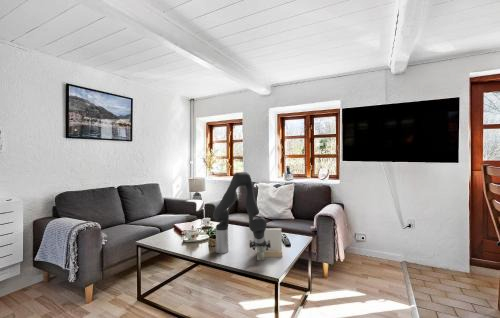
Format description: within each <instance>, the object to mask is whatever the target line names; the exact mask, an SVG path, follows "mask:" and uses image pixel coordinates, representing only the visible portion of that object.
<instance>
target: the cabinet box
mask: <svg viewBox="0 0 500 318" xmlns="http://www.w3.org/2000/svg"><path fill="white" fill-rule="evenodd" d="M265 259H266V257H265V256H264V247H262V246H257V247H256V260H257V261H265Z"/></svg>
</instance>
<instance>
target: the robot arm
mask: <svg viewBox="0 0 500 318" xmlns="http://www.w3.org/2000/svg"><path fill="white" fill-rule="evenodd" d="M239 187H244V188H245V189H246V197H245V199H244V200H245V201H244V202H245V203H244V205H245V209H246V211H247V215H248V226H249V230H250V231H251V232H252V234H253V235H252V236H253V241H252V240H249V248H250V249H251V248H252V250H253V251H256V249H257V246H262V247H264V248H266V250H268V247H269V248H271V243H270V240H269V241H268V242H266V241H265V234H264V232H265V229H267V226H268V224H267V220H266V219H265V218H264V217H263V216H262V217H258V218H255V217H256V216H258V215H259V214H260V209H259V206H258V204H257V200H256V197H255V192H254V187H253V180H252V178H251V175H250V173H249V172H245V171H244V172H243V171H241V172H235V173H234V174H233V176H232V178H231V180H230V184H229V185H228V187H227V190H226V191H225V193H224V195H223V196H222V198H221V200H220V201H219V203H218V204H217V206H216V207H215V208H214V210H213V214H212V218H213V220H214V221H217V222H218V221H220V222H219V223H217V224H216V225H215V237H216V238H215V239H214V240H215V253H217V254H227V253H228V252H229V223H230V222H229V220H230V219H229V218H230V217H229V216H230V213H229V210H228V209H230V208H231V207H232V206H234V204H235V203H236V201H237V199H238V192H237V189H238V188H239ZM254 218H255V219H254Z"/></svg>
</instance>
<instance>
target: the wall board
mask: <svg viewBox="0 0 500 318" xmlns="http://www.w3.org/2000/svg"><path fill="white" fill-rule="evenodd" d="M264 234H265V241H266V242H268V241H269V240H270V243H271V248H269V247H268V250H266V248H264V256H265V258H283V247H282V246H283V244H282V240H283V239H282V238H283V237H282V228H266V229H265V232H264Z"/></svg>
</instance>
